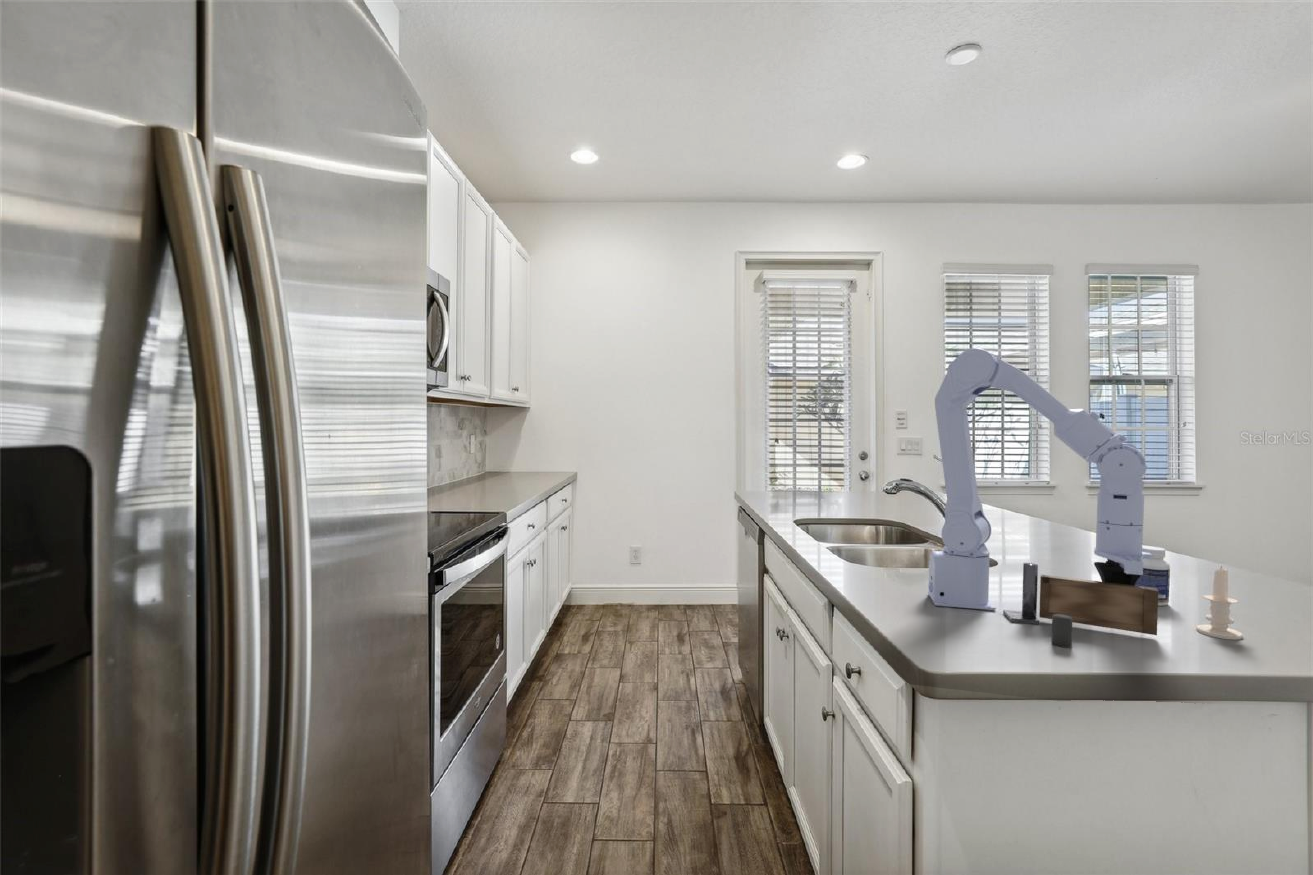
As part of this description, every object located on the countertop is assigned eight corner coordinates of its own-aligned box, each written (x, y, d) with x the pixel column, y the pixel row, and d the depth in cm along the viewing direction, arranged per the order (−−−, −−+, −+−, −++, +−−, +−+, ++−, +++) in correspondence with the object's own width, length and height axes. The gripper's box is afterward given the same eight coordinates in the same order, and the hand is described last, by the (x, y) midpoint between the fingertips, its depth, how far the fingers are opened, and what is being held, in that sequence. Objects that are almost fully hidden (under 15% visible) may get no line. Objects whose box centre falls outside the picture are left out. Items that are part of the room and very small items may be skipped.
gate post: (1011, 622, 97) (1012, 566, 97) (1003, 613, 102) (1004, 559, 101) (1040, 624, 96) (1042, 567, 96) (1031, 615, 101) (1033, 561, 100)
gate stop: (1055, 646, 87) (1056, 618, 87) (1049, 640, 89) (1049, 613, 89) (1074, 648, 86) (1075, 620, 86) (1067, 642, 89) (1068, 614, 89)
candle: (1188, 630, 94) (1191, 563, 94) (1207, 626, 96) (1209, 560, 96) (1231, 641, 90) (1234, 571, 89) (1250, 637, 92) (1252, 568, 91)
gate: (1039, 617, 97) (1040, 576, 97) (1039, 614, 99) (1040, 574, 98) (1156, 635, 90) (1158, 590, 89) (1155, 632, 91) (1156, 588, 91)
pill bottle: (1176, 607, 106) (1178, 551, 105) (1140, 605, 107) (1142, 550, 106) (1157, 598, 111) (1159, 545, 111) (1123, 596, 112) (1125, 543, 112)
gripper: (1170, 532, 86) (1167, 628, 86) (1134, 517, 99) (1132, 600, 100) (1110, 529, 88) (1107, 622, 89) (1083, 514, 102) (1080, 595, 102)
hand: (1116, 610), depth 94 cm, fingers closed
